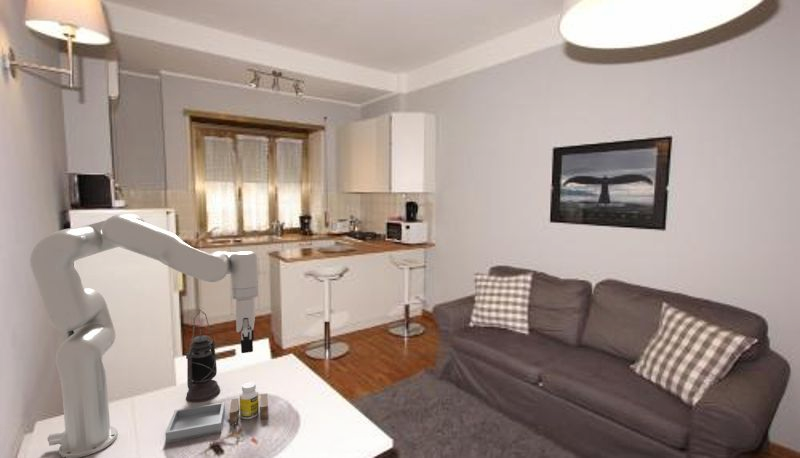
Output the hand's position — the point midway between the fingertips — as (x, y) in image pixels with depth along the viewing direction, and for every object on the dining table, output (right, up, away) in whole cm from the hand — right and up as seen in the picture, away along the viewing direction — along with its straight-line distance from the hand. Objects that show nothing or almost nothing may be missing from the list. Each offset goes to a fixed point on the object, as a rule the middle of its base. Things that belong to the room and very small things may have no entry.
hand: (247, 346), depth 118 cm
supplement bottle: (0, -22, +2) cm, 23 cm away
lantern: (-21, -21, +15) cm, 33 cm away
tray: (-14, -23, -4) cm, 27 cm away
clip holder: (0, -22, +2) cm, 22 cm away
